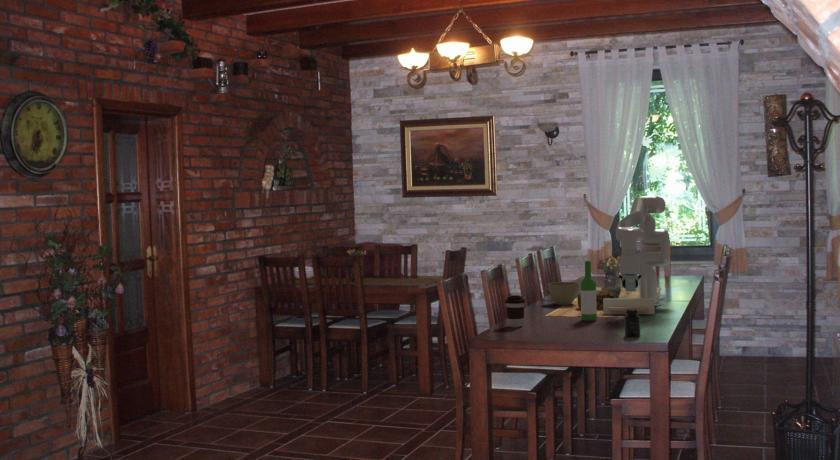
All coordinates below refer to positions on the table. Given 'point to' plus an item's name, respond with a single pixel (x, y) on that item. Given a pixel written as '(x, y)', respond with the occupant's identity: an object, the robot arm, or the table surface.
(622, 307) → the wall shelf
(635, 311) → the supplement bottle
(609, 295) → the bread
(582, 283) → the wine bottle
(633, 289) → the cabinet block
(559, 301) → the flower pot
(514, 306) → the coffee cup
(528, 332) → the table surface
